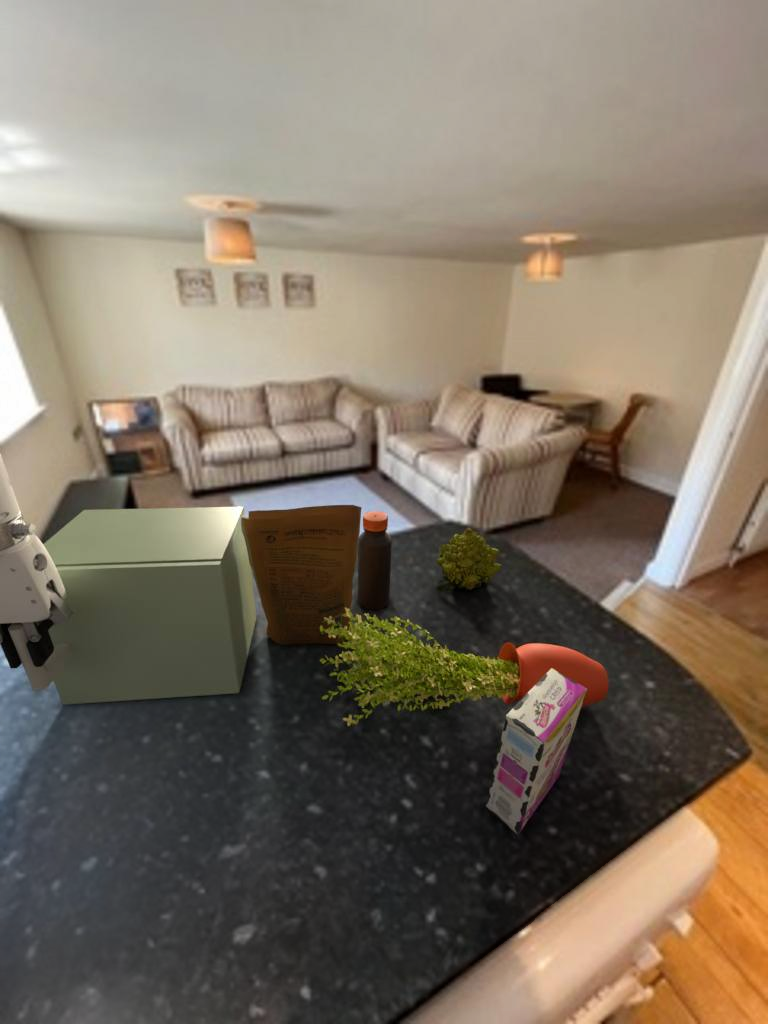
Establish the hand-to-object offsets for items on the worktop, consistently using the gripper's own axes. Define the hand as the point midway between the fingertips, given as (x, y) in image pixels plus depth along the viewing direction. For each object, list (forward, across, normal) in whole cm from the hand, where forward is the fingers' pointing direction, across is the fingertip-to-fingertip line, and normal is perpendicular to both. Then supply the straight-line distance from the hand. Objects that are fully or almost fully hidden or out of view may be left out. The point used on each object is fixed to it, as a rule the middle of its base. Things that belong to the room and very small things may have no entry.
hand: (33, 659), depth 58 cm
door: (+14, -10, -3) cm, 18 cm away
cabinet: (+14, -10, -16) cm, 24 cm away
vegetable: (+15, -69, -35) cm, 79 cm away
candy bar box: (+15, -63, +14) cm, 66 cm away
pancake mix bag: (+15, -34, -18) cm, 41 cm away
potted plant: (+15, -59, -3) cm, 61 cm away
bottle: (+15, -47, -29) cm, 57 cm away
